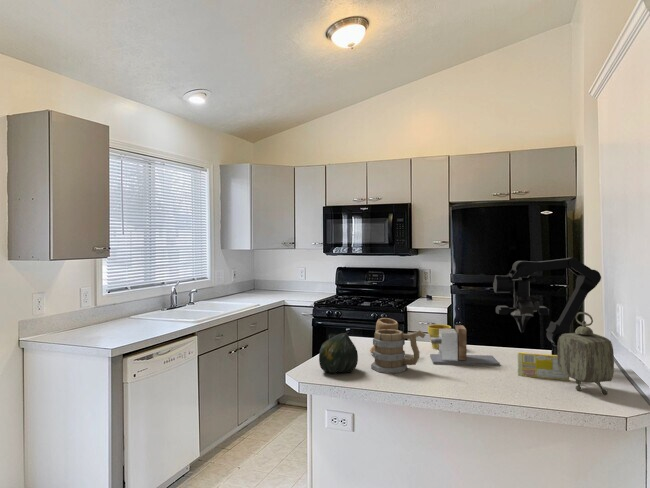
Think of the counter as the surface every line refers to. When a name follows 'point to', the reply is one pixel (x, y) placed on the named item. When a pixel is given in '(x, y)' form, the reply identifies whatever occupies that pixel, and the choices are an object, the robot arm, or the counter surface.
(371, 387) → the counter surface
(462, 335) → the wood block
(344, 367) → the squash
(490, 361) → the mat
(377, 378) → the counter surface
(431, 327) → the plant pot
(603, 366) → the tabletop clock
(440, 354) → the bearing block
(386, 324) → the stone cup
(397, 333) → the tankard
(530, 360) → the candy box
